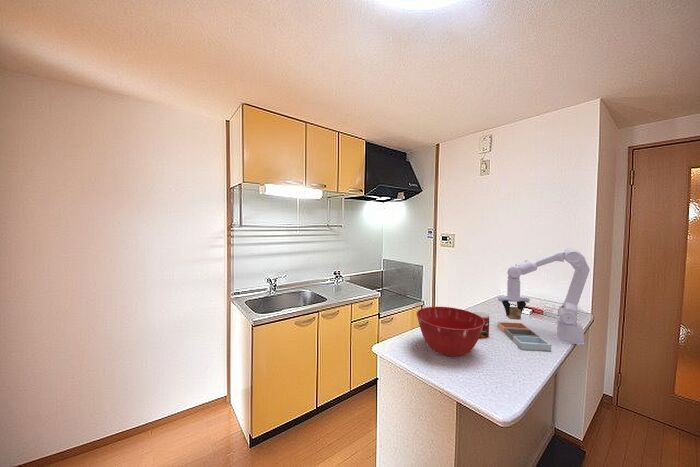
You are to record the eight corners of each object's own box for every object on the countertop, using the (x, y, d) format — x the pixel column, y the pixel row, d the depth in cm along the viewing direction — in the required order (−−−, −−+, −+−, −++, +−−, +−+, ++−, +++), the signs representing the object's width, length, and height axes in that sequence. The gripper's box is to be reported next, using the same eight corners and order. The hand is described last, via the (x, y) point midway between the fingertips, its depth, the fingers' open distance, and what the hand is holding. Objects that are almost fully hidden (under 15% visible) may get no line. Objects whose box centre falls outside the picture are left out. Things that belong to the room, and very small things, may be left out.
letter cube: (516, 316, 141) (516, 306, 141) (520, 319, 136) (520, 309, 136) (506, 316, 142) (506, 306, 142) (510, 319, 137) (510, 309, 137)
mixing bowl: (486, 344, 123) (486, 312, 123) (481, 374, 99) (482, 333, 98) (425, 332, 138) (425, 303, 137) (407, 355, 113) (408, 320, 113)
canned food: (471, 337, 132) (471, 315, 131) (472, 331, 139) (472, 310, 138) (489, 340, 128) (489, 318, 128) (489, 334, 135) (489, 313, 135)
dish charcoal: (530, 335, 134) (530, 329, 134) (539, 342, 126) (539, 336, 126) (504, 334, 136) (504, 328, 135) (511, 341, 127) (511, 334, 127)
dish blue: (540, 343, 125) (540, 337, 125) (551, 351, 117) (551, 344, 117) (512, 341, 127) (512, 335, 127) (521, 349, 119) (521, 343, 118)
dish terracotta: (521, 328, 143) (521, 323, 143) (529, 334, 135) (529, 329, 134) (497, 327, 144) (497, 321, 144) (503, 333, 136) (503, 327, 136)
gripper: (524, 288, 142) (524, 313, 142) (495, 287, 144) (495, 312, 144) (531, 291, 135) (531, 317, 135) (501, 290, 137) (500, 316, 137)
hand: (513, 315), depth 139 cm, fingers closed on letter cube, 5 cm apart
